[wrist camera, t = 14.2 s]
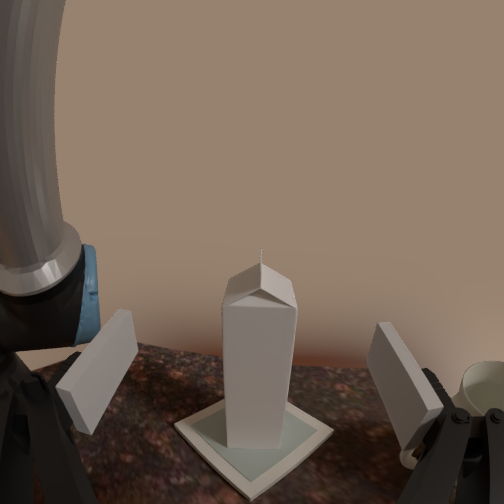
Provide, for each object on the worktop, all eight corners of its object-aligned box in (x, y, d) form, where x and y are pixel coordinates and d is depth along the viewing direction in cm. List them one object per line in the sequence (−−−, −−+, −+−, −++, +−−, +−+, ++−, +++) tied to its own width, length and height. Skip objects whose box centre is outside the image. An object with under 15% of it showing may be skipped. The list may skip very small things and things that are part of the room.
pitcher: (372, 449, 28) (409, 365, 24) (479, 425, 26) (521, 347, 22) (388, 520, 17) (452, 449, 13) (507, 476, 16) (567, 397, 12)
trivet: (175, 428, 32) (173, 422, 31) (255, 385, 41) (256, 380, 40) (250, 501, 22) (250, 497, 21) (332, 434, 31) (334, 428, 31)
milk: (227, 448, 28) (218, 268, 22) (231, 412, 34) (227, 246, 27) (280, 449, 28) (301, 270, 22) (278, 414, 34) (293, 247, 27)
